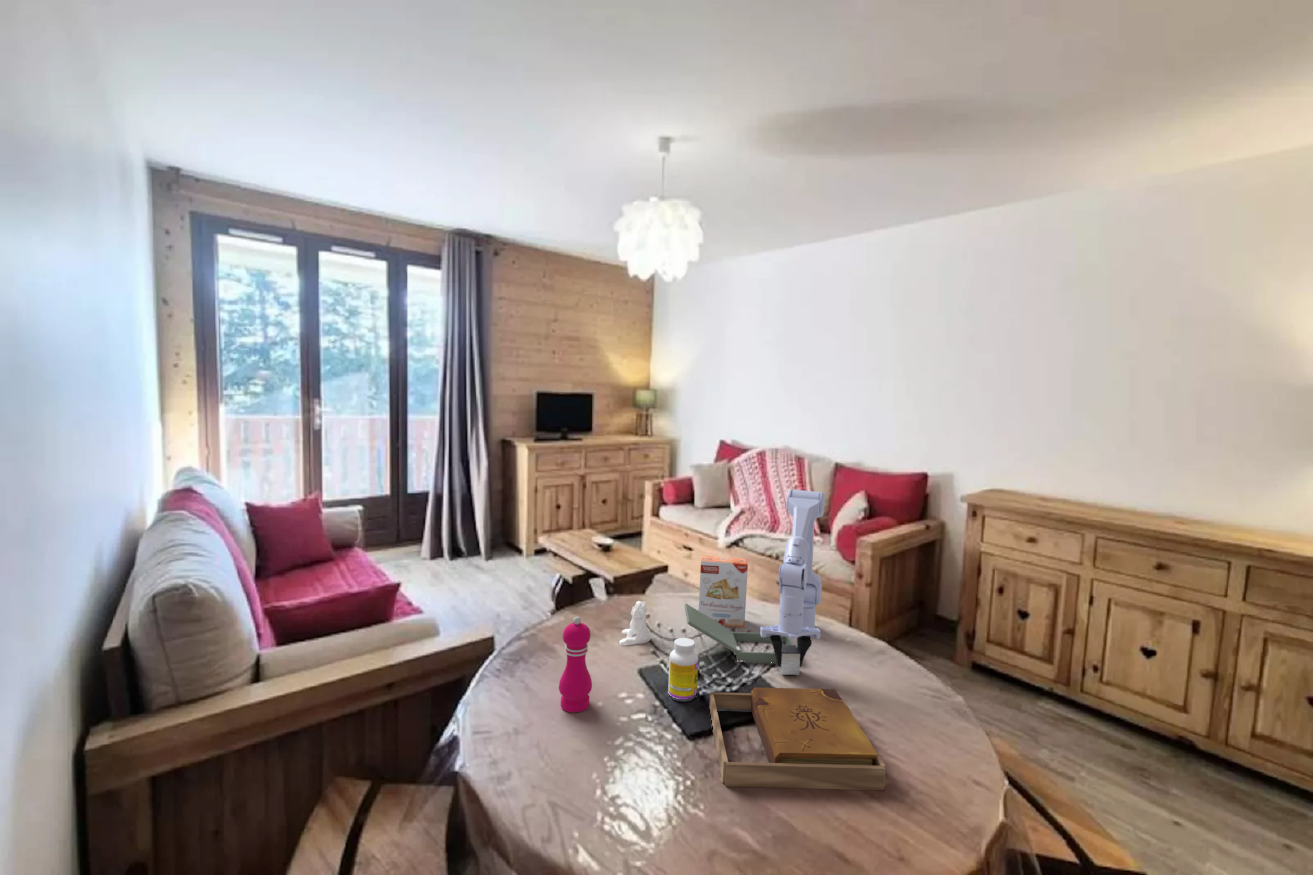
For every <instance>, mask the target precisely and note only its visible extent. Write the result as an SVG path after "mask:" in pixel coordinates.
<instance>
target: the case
mask: <svg viewBox="0 0 1313 875" xmlns="http://www.w3.org/2000/svg"><path fill="white" fill-rule="evenodd" d="M684 610H685V611H684V612H685V617H686V618H685V619H686V624H687V625H689V626H690V627H692V628H693V629H695V630H697V631H698V632H700V633H701V634H703V635H705V636H707V637H709V638H710V639H712V640H713V641H715V642H716V643H718V644H719V645H722V646H723V647H725V648H726V649H728V650H730V651H731V652H733V654H734V656H735V655H736V657H737V659H740V660H743V661H745V662H747V663H746V664H766V665H767V664H768V663H771V662H772V663H773V664H774V665H777V664H776V657H775V652H773V651H772V652H771V651H770V652H767V651H765V652H764V651H741V647H740V646H739V645H738V644H737V642H752V643H754V642H755V643H756V642H757V643H772V642H771V639H770V637H769V636H766V637H761V635H760V632H744V631H743V632H742V631H732V630H731V629H729V628H727V626H723V625H721V624H719V623H718V622H716V621H714V620H713V619H711V618H709V617H708V616H706V615H704V614H703V613H701V612H699V611H698V610H699V609H698V610H697V609H696V608H694V607H693V606H691V605H690V604H687V603H685V604H684ZM780 638H781V641H782V643H785V645H795V644H794V643H793V640H792V638H790V637H780ZM773 664H772V665H773ZM768 665H769V664H768Z"/></svg>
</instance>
